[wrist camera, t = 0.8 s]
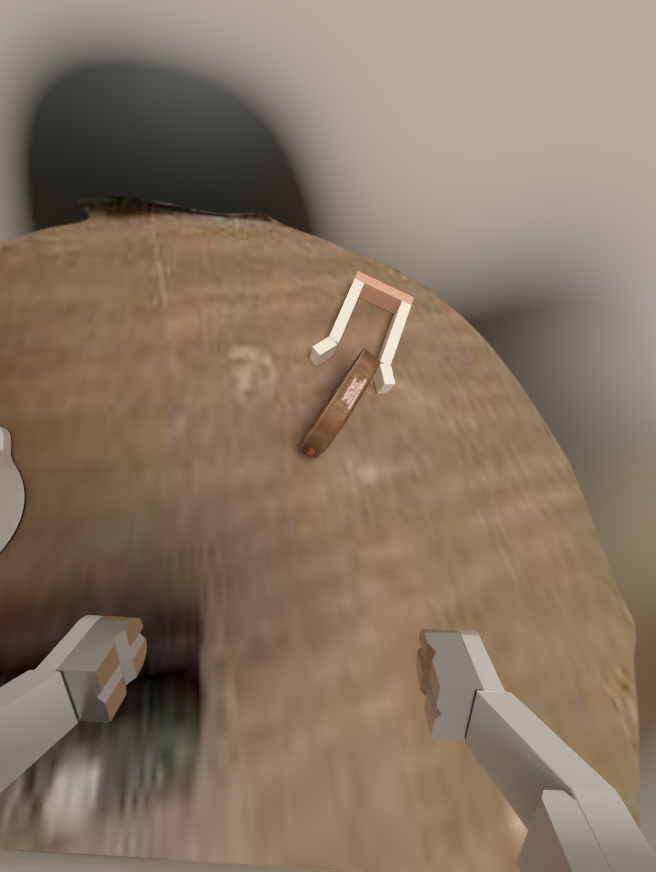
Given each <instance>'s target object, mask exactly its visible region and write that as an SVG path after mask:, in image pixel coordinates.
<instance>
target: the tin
mask: <svg viewBox="0 0 656 872" xmlns="http://www.w3.org/2000/svg"><path fill="white" fill-rule="evenodd" d="M379 364H380V360H379V359H378V358H377V357H376V356H374V355H373V354H371V353H370V352H368V351H367V350H366V348H364V349H363V350H362V351H361V353H360V354H359V356H358V357H357V358H356V360H355V361H354V363H353V364H352V366H351V367H350V368H349V370H348V371H347V372H346V374H345V375H344V377H343V378H342V380H341V381H340V383H339V385H338V386H337V388H336V389H335V391H334V392H333V394H332V395H331V397H330V398H329V400H328V401H327V403H326V404H325V406H324V407H323V409H322V411H321V412H320V414H319V415H318V417H317V418H316V420H315V421H314V423H313V424H312V426H311V427H310V429H309V431H308V432H307V434H306V436H305V437H304V439H303V440H302V442H301V444H300V445H299V448H298V449H299V450H300V449H301V450H302V451H304V452H305V453H307V454H308V455H310V456H312V457H314V458H317V457H318V456H319V455H320V454H321V453H323V452H324V451H325V450H326V449H327V448H328V447H329V445H330V444H331V443H332V441H333V440H334V439H335V437H336V436H337V434H338V433H339V431H340V430H341V428H342V427H343V425H344V424H345V422H346V421H347V419H348V417H349V416H350V414H351V412H352V411H353V409H354V408H355V406H356V404H357V403H358V401H359V399H360V398H361V396H362V395H363V393H364V391H365V389H366V388H367V386H368V384H369V383H370V381H371V379H372V377H373V376H374V374H375V372H376V370H377V369H378V367H379Z"/></svg>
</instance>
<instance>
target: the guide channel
mask: <svg viewBox="0 0 656 872" xmlns="http://www.w3.org/2000/svg"><path fill="white" fill-rule="evenodd" d="M358 298H360V299H363V300H365V301H367V302H369V303H371V304H373V305H375V306H378V307H380V308H382V309H384V310H386V311H388V312H390V313H393V314H394V315H393V318H392V320H391V323H390V326H389V329H388V331H387V334H386V337H385V340H384V342H383V345H382V348H381V350H380V353H379V356H378V359H379V360H380V364H379V367H378V369H377V370H376V372H375V374H374V376H373V379H374V383H375V388H376V392H377V394H382V393H387V392H388V391H389V390H390V389H391V388H392V387H393V386H394V385H395V380H394V376H393V372H392V368H391V363H392V360H393V357H394V354H395V351H396V348H397V345H398V342H399V339H400V336H401V334H402V331H403V328H404V325H405V322H406V319H407V316H408V313H409V310H410V307H411V305H412V302H413V299H414V297H411V296H409V295H407V294H405V293H403V292H401V291H399V290H397V289H395V288H392V287H390V286H388V285H386V284H384V283H382V282H380V281H378V280H376V279H373V278H371V277H369V276H367V275H365V274H363V273H361V272H359V271H358V272H357V275H356V277H355V279H354V281H353V284H352V286H351V288H350V290H349V293H348V295H347V297H346V299H345V302H344V304H343V306H342V308H341V311H340V313H339V315H338V317H337V320H336V322H335V324H334V326H333V329H332V331H331V333H330V336H329V337H328V338H326V339H324V340H323V341H321V342H319V343H318V344H316V345H314V346H313V347H312V350H311V354H310V357H309V359H310V360H311V362H312V363H313V364H314V365H315V366H318V365H319V364H321V363H323V362H324V361H326V360H327V359H329V358H330V357H332V356H333V354H334V353H335V351H336V348H337V346H338V344H339V341H340V339H341V337H342V334H343V332H344V330H345V327H346V325H347V323H348V320H349V318H350V315H351V313H352V311H353V308H354V306H355V304H356V301H357V299H358Z"/></svg>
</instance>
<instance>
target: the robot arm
mask: <svg viewBox="0 0 656 872" xmlns="http://www.w3.org/2000/svg"><path fill="white" fill-rule="evenodd" d="M24 497H25V496H24V486H23V481H22V478H21V476H20V473H19V471H18V470H17V468H16V466H15V464H14V462H13V460H12V458H11V436H10V433H9V431H8V430H7V429H6V428H4V427H1V426H0V551H1V550H2V549H3V548H4V547H5V545H6V544H7V543H8V541H9V540H10V538H11V537H12V535H13V534H14V532H15V530H16V528H17V526H18V524H19V521H20V519H21V516H22V512H23V508H24ZM142 628H143V625H142V621H141V619H140V618H130V617H116V616H99V615H86V616H84V617H83V618H81V619H80V620H79V621H78V622H77V623H76V624H75V625H74V627H73V628H72V629H71V630H70V631H69V632H68V633H67V634H66V636H65V637H64V638H63V639H62V640H61V641H60V642H59V643H58V644H57V646H56V647H55V648H54V649H53V650H52V651H51V652H50V653H49V655H48V656H47V657H46V658H45V659H44V660H43V661H42V662H41V664H40V665H39V666H38V667H37V668H36V669H35V670H28V671H27V672H25V673H23V674H22V675H20V676H18V677H17V678H15V679H13V680H12V681H10V682H9V683H7V684H5V685H4V686H2V687H0V793H1V792H2V791H3V790H4V789H5V788H6V787H8V786H9V785H10V784H11V783H12V782H13V781H14V780H15V779H16V778H18V777H19V776H20V775H21V774H22V773H23V772H24V771H25V770H26V769H28V768H29V767H30V766H31V765H32V764H33V763H34V762H35V761H36V760H38V759H39V758H40V757H41V756H42V755H43V754H44V753H45V752H46V751H48V750H49V749H50V748H51V747H52V746H53V745H54V744H55V743H56V742H58V741H59V740H60V739H61V738H62V737H63V736H64V735H65V734H66V733H67V732H69V731H70V730H71V729H72V728H73V727H74V726H75V725H76V724H77V723H78V721H111V720H112V718H113V716H114V715H115V713H116V711H117V709H118V708H119V706H120V704H121V703H122V701H123V699H124V697H125V696H126V694H127V693H126V685H127V684H128V683H129V682H130V681H132V680H133V679H134V678H136V677H137V675H138V673H139V671H140V670H141V668H142V666H143V663H144V660H145V657H146V653H147V643H146V639H145V638H144V637H143V636H142V635H141V634H140V631H141V630H142ZM419 640H420V644H421V648H420V649H419V650H418V651H417V674H418V681H419V685H420V690H421V691H422V692H423V693H424V695H425V696H426V701H425V713H426V717H427V721H428V726H429V730H430V734H431V738H443V739H455V740H465V743H466V745H467V746H468V747H469V749H470V750H471V751H472V753H473V754H474V756H475V757H476V758H477V760H478V761H479V763H480V764H481V765H482V767H483V768H484V770H485V771H486V772H487V774H488V775H489V776H490V778H491V779H492V781H493V782H494V783H495V785H496V786H497V788H498V789H499V790H500V792H501V793H502V794H503V796H504V797H505V799H506V800H507V801H508V803H509V804H510V806H511V807H512V808H513V810H514V811H515V813H516V814H517V815H518V817H519V818H520V819H521V821H522V822H523V824H524V825H525V826H526V828H527V829H528V833H527V836H526V838H525V841H524V843H523V846H522V849H521V851H520V854H519V857H518V859H517V864H518V867H519V870H520V872H656V857H655V855H654V853H653V852H652V850H651V848H650V847H649V845H648V843H647V842H646V840H645V838H644V836H643V835H642V833H641V831H640V830H639V828H638V826H637V825H636V823H635V821H634V820H633V818H632V816H631V815H630V813H629V811H628V810H627V808H626V806H625V805H624V803H623V801H622V799H621V798H620V796H619V794H618V793H617V791H616V790H614V789H613V788H612V787H611V786H610V785H609V784H608V783H607V782H606V781H605V780H604V779H603V778H602V777H601V776H600V775H598V774H597V773H596V772H595V771H594V770H593V769H592V768H591V767H590V766H589V765H588V764H587V763H586V762H585V761H584V760H583V759H581V758H580V757H579V756H578V755H577V754H576V753H575V752H574V751H573V750H572V749H571V748H570V747H569V746H568V745H567V744H565V743H564V742H563V741H562V740H561V739H560V738H559V737H558V736H557V735H556V734H555V733H554V732H553V731H552V730H551V729H549V728H548V727H547V726H546V725H545V724H544V723H543V722H542V721H541V720H540V719H539V718H538V717H537V716H536V715H535V714H534V713H532V712H531V711H530V710H529V709H528V708H527V707H526V706H525V705H524V704H523V703H522V702H521V701H520V700H519V699H518V698H516V697H515V696H514V695H513V694H512V693H511V692H505V691H504V689H503V686H502V684H501V682H500V680H499V678H498V676H497V673H496V671H495V669H494V667H493V665H492V662H491V660H490V658H489V656H488V654H487V652H486V649H485V647H484V645H483V643H482V641H481V639H480V636H479V634H478V633H477V632H476V631H460V630H457V631H456V630H437V629H422V630H421V632H420V637H419ZM0 872H366V871H350V870H333V869H317V868H301V867H285V866H269V865H252V864H236V863H220V862H204V861H188V860H172V859H155V858H139V857H123V856H107V855H90V854H74V853H57V852H41V851H25V850H8V849H0Z"/></svg>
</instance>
